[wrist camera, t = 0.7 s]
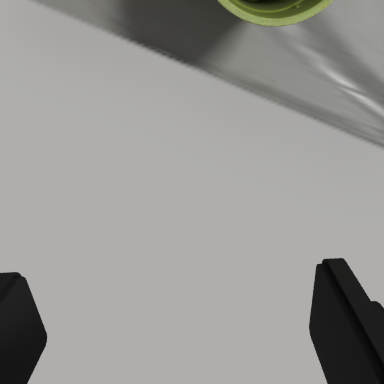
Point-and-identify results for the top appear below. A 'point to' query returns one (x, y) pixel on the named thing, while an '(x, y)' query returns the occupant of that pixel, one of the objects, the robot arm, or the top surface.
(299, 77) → the top surface
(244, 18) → the plant pot
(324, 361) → the robot arm
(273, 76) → the top surface
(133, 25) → the top surface
